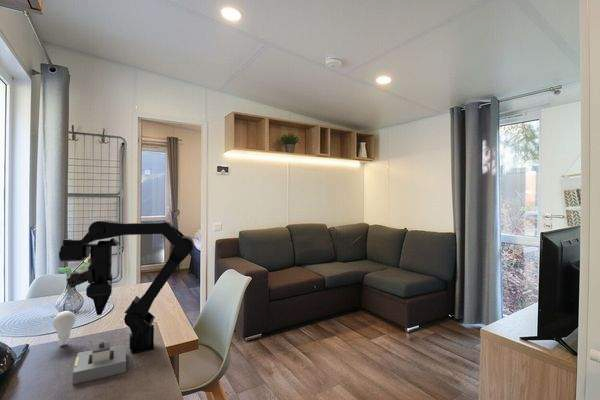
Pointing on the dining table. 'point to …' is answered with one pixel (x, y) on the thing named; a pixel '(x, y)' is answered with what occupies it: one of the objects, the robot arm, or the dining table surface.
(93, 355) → the plug
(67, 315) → the lightbulb
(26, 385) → the dining table surface
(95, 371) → the socket
